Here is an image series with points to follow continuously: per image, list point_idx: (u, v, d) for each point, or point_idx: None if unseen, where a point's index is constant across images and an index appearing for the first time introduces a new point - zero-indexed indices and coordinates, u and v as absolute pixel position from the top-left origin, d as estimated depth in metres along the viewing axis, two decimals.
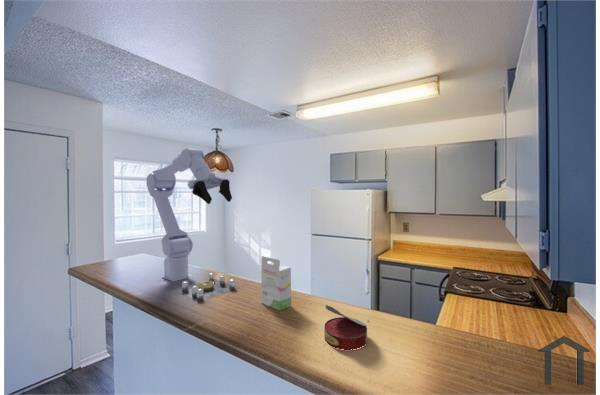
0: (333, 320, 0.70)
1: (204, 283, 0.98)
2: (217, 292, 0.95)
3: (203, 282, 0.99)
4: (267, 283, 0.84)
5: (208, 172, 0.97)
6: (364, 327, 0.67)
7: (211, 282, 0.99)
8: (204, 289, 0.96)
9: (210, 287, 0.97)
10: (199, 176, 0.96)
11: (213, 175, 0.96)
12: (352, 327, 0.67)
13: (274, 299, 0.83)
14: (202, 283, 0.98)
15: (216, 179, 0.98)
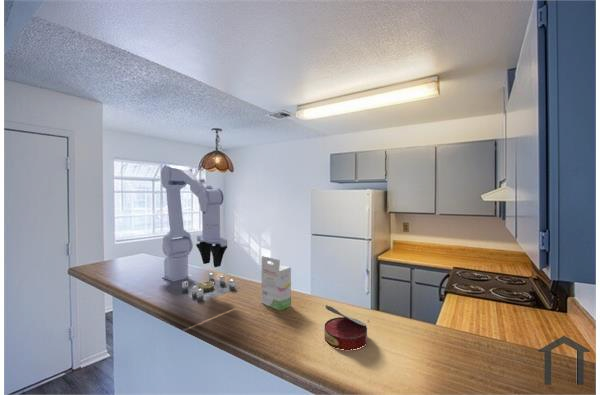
0: (333, 320, 0.70)
1: (204, 283, 0.98)
2: (217, 292, 0.95)
3: (203, 282, 0.99)
4: (267, 283, 0.84)
5: (203, 233, 0.93)
6: (364, 327, 0.67)
7: (211, 282, 0.99)
8: (204, 289, 0.96)
9: (210, 287, 0.97)
10: None
11: None
12: (352, 327, 0.67)
13: (274, 299, 0.83)
14: (202, 283, 0.98)
15: (210, 241, 0.93)
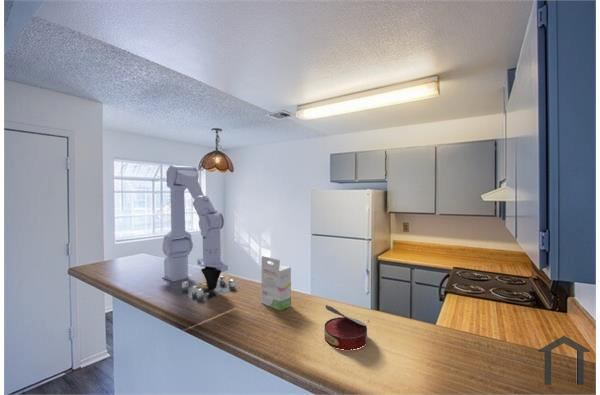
0: (333, 320, 0.70)
1: (204, 283, 0.98)
2: (217, 292, 0.95)
3: (203, 282, 0.99)
4: (267, 283, 0.84)
5: (204, 258, 0.94)
6: (364, 327, 0.67)
7: None
8: (204, 289, 0.96)
9: None
10: None
11: None
12: (352, 327, 0.67)
13: (274, 299, 0.83)
14: (202, 283, 0.98)
15: None
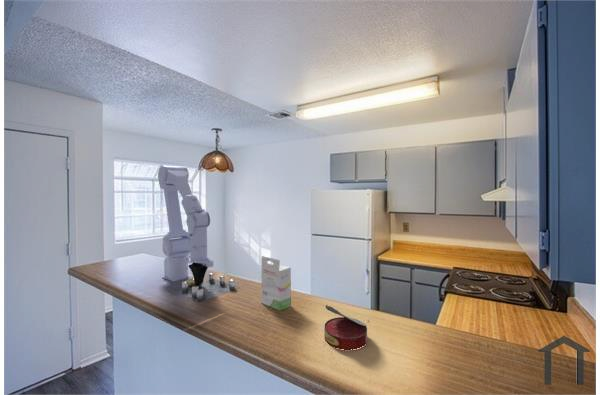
0: (333, 320, 0.70)
1: (191, 279, 1.03)
2: (217, 292, 0.95)
3: (191, 278, 1.04)
4: (267, 283, 0.84)
5: (191, 254, 0.98)
6: (364, 327, 0.67)
7: None
8: (192, 283, 1.01)
9: None
10: None
11: None
12: (352, 327, 0.67)
13: (274, 299, 0.83)
14: (189, 279, 1.03)
15: None
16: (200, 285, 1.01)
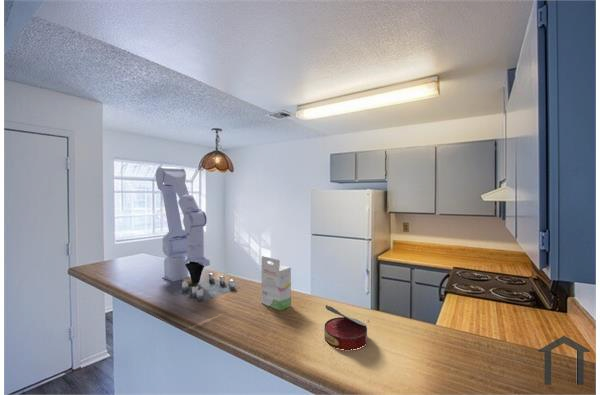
0: (333, 320, 0.70)
1: (188, 278, 1.04)
2: (217, 292, 0.95)
3: (188, 277, 1.05)
4: (267, 283, 0.84)
5: (187, 254, 1.00)
6: (364, 327, 0.67)
7: None
8: (188, 283, 1.02)
9: None
10: None
11: None
12: (352, 327, 0.67)
13: (274, 299, 0.83)
14: (186, 278, 1.04)
15: None
16: (200, 285, 1.01)
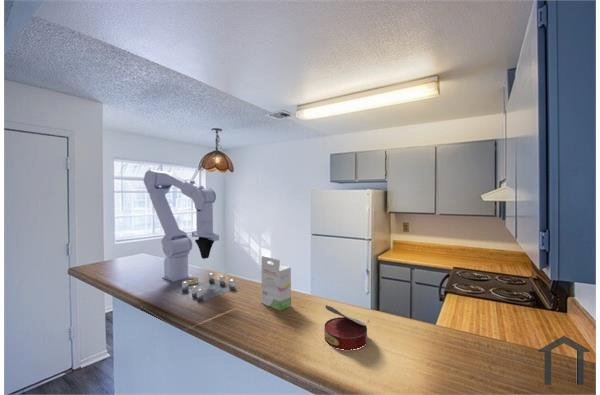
0: (333, 320, 0.70)
1: (189, 279, 1.04)
2: (217, 292, 0.95)
3: (188, 278, 1.05)
4: (267, 283, 0.84)
5: (197, 229, 1.03)
6: (364, 327, 0.67)
7: (196, 279, 1.05)
8: None
9: (194, 283, 1.03)
10: None
11: None
12: (352, 327, 0.67)
13: (274, 299, 0.83)
14: (187, 279, 1.04)
15: (204, 236, 1.02)
16: (200, 285, 1.01)
